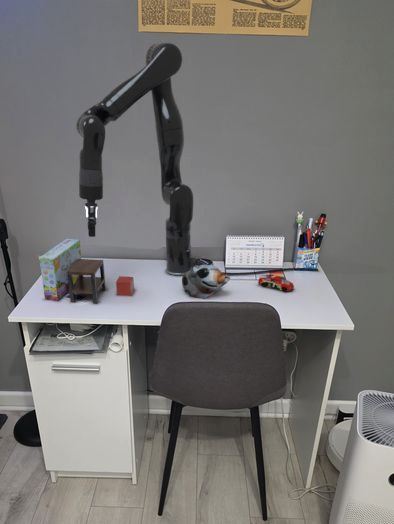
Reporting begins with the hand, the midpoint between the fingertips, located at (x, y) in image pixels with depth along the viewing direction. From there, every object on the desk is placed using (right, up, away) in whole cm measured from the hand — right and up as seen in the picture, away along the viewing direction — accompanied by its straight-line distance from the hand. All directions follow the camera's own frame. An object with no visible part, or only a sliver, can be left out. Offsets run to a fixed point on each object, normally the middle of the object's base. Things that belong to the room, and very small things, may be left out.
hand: (91, 233), depth 165 cm
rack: (-2, -21, +5) cm, 21 cm away
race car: (+64, -17, +13) cm, 68 cm away
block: (+10, -19, +7) cm, 23 cm away
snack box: (-11, -18, +10) cm, 23 cm away
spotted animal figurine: (+39, -19, +8) cm, 44 cm away
